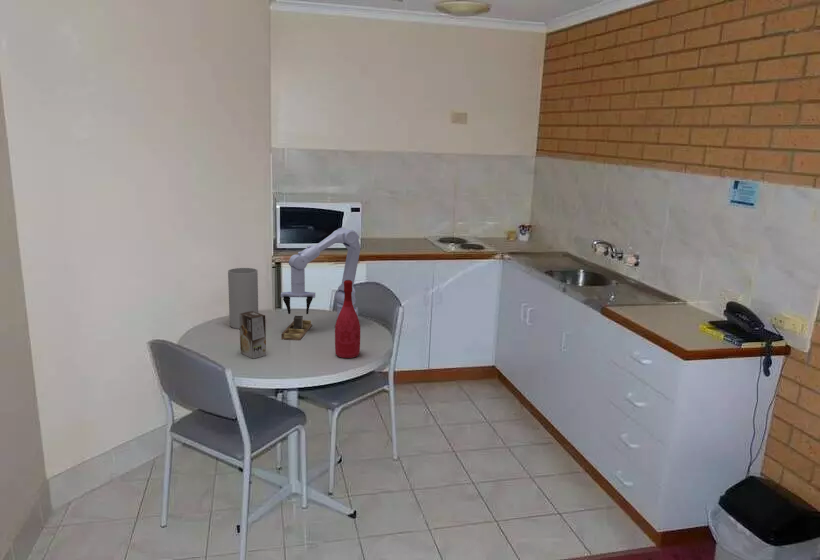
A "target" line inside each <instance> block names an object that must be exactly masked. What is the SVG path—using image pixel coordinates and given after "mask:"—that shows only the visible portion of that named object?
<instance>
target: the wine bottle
mask: <svg viewBox="0 0 820 560" xmlns="http://www.w3.org/2000/svg"><path fill="white" fill-rule="evenodd" d="M344 292H345V294H344V304H343V307H342V309H341V311H340V313H339V316H338V318H337V317H336V322H335V325H334V346H335V347H334V351H335V355H336V356H337V357H339V358H342V359H353V358H356V357H358V356H359V355H360V352H361V324H360V320H359V315H358V316H357V314H356V312H355V309H354V307H355V306H354V307H353V304H352V295H351V292H352V281H351V280H345V281H344Z"/></svg>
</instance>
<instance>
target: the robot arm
mask: <svg viewBox="0 0 820 560" xmlns="http://www.w3.org/2000/svg"><path fill="white" fill-rule="evenodd" d="M359 238H360V235H359V234H358V233H357V232H356V231H355V230H353V229H348V228H346V227H339V228H337V229H336V230H334V231H333V232H332V233H331V234H329V235H328V236H327V237H325V238H324V239H323V240H321V241H319V242H318V243H316V245H315V244H308V245H307V246H306V248H304V249H303V250H301V251H298V252H297V254H292V255H291V256H290V258H289V260H288V265H289V266H290V283H291V284H290V285H291V289H290V291H283V292H282V291H281V292H280V298H281V299H282V301H283V302H284V304H285V308H286V309H287V313H288V315H291V311H292V310H291V298H305V299H306V301H305V302H306V311H305V313H306V315H309V311H310V307H311V303H312V302H313V299H315V298H316V292H315V291H314V292H313V291H311V292H310V291H306V290H305V289H306V288H305V287H306V285H305V283H306V279H305V278H306V276H305V275H306V274H305V272H306V271H305V269H306V267H307V266H308V264H309V263H311V262H312V261H314V260H315V259H317V258H319V256H320V254H321V252H322V251H324V250H326V249H328V248H330V247H331V246H332V245H334V244H343V246H344V247H345V248H346V249H347V253H346V258H345V263H344V268H343V274H342V280H341V284H340V285H339V286H338V288H337V291H336V292H335V294H334V301H335V302H336V319H337V318H338V316H339V313H340V311H341V309H342V307H343V304H344V294H345V292H344V281H345V280H351V281H352V292H351V295H352V304H353V307H354V309H355V312H356V314H357V316H358V317H359V308H358V306H355V305H356V302H357V298H356V292H357V291H356V289H355V287H354V285H355V279H356V275H357V268H358V264H359V260H360V259H359V258H360V253H361V244H360V241H359Z"/></svg>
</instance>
